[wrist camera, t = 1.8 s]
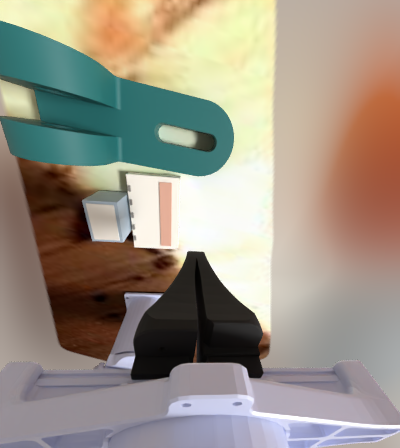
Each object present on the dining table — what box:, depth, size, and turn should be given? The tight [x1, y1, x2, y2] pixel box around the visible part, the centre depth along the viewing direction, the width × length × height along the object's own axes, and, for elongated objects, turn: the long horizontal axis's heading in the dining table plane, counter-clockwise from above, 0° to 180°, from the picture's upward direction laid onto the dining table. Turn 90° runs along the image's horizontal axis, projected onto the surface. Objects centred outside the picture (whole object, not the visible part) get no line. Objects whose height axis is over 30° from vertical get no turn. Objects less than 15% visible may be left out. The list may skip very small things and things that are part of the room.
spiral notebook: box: [126, 172, 181, 249], centre depth 21 cm, size 10×6×1 cm, turn 175°
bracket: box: [0, 21, 234, 176], centre depth 14 cm, size 18×7×8 cm, turn 79°
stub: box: [82, 191, 132, 242], centre depth 19 cm, size 5×4×4 cm
